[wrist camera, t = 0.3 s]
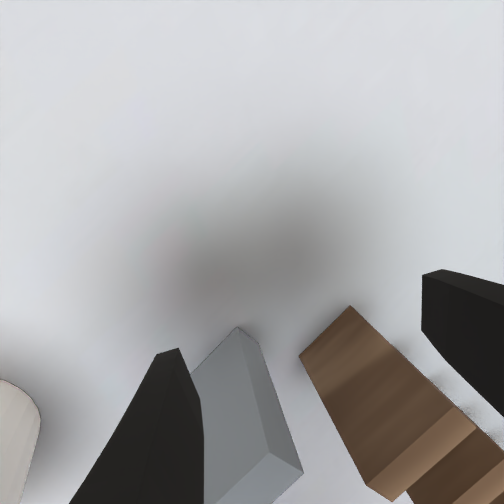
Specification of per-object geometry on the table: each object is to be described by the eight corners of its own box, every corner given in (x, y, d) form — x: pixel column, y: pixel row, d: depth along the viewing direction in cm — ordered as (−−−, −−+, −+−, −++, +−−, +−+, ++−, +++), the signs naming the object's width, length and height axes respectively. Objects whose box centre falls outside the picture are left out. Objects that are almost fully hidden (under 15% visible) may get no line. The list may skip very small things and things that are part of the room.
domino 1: (258, 343, 21) (304, 473, 12) (208, 394, 21) (218, 552, 13) (237, 326, 20) (269, 452, 12) (185, 379, 21) (180, 536, 12)
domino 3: (405, 358, 24) (525, 472, 15) (358, 402, 24) (448, 538, 16) (391, 344, 23) (507, 456, 14) (342, 390, 23) (427, 524, 15)
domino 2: (367, 321, 22) (477, 427, 13) (316, 370, 22) (392, 502, 14) (350, 305, 21) (454, 406, 13) (298, 356, 22) (365, 485, 13)
